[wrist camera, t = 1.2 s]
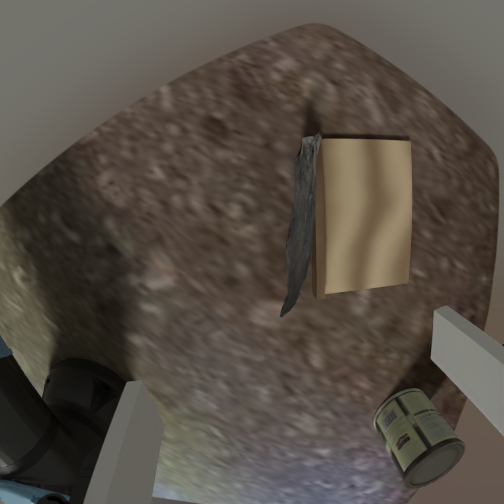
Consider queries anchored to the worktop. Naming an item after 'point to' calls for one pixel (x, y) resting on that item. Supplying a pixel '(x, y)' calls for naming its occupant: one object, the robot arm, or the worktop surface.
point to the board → (361, 215)
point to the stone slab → (301, 220)
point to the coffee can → (417, 438)
